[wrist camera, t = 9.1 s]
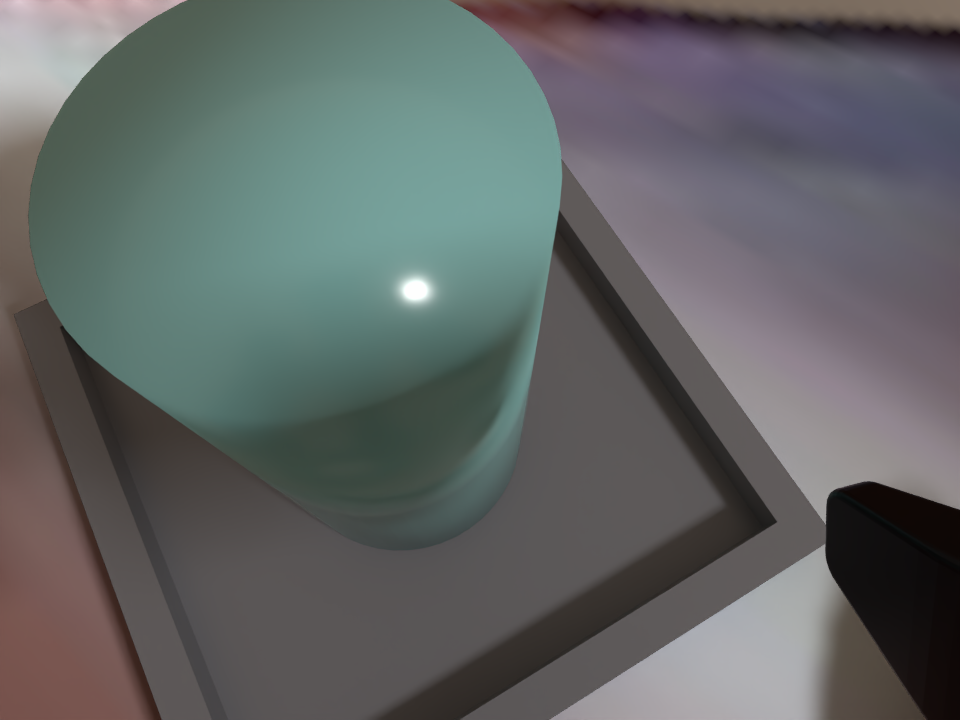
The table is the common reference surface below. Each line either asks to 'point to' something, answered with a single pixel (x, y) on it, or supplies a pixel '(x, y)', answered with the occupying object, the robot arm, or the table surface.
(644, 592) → the tray
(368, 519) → the green rounded cylinder
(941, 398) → the table surface
